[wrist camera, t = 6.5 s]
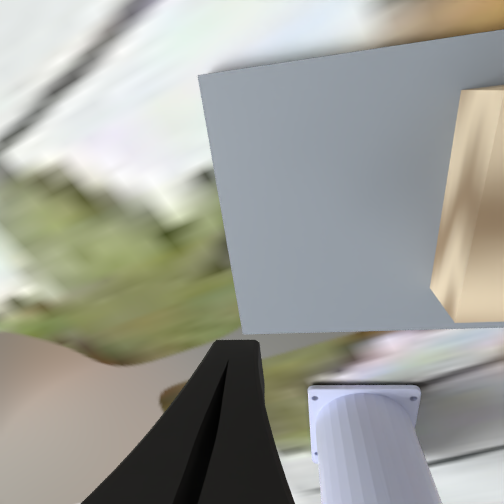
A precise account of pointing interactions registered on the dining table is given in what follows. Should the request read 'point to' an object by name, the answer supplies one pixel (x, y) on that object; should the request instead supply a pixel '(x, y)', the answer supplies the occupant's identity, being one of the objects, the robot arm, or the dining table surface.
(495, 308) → the t block
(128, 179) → the dining table surface
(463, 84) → the board
